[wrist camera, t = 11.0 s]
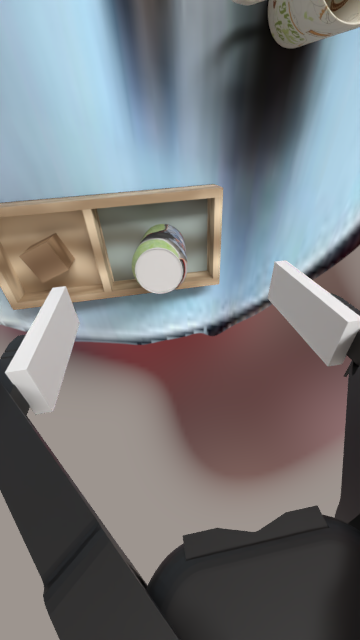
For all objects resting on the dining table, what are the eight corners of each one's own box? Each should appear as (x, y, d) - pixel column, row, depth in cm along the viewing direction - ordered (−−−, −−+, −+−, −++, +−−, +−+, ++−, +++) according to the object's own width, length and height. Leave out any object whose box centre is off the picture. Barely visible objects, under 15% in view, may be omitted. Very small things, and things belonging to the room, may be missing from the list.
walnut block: (30, 245, 32) (18, 256, 29) (55, 232, 32) (46, 241, 29) (51, 270, 35) (42, 283, 31) (75, 258, 34) (68, 269, 31)
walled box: (-22, 204, 30) (-42, 211, 26) (214, 184, 32) (223, 187, 29) (23, 296, 37) (13, 309, 34) (212, 273, 40) (219, 284, 37)
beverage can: (175, 268, 37) (190, 309, 27) (128, 255, 35) (125, 295, 25) (189, 227, 34) (211, 257, 24) (137, 211, 32) (138, 237, 22)
